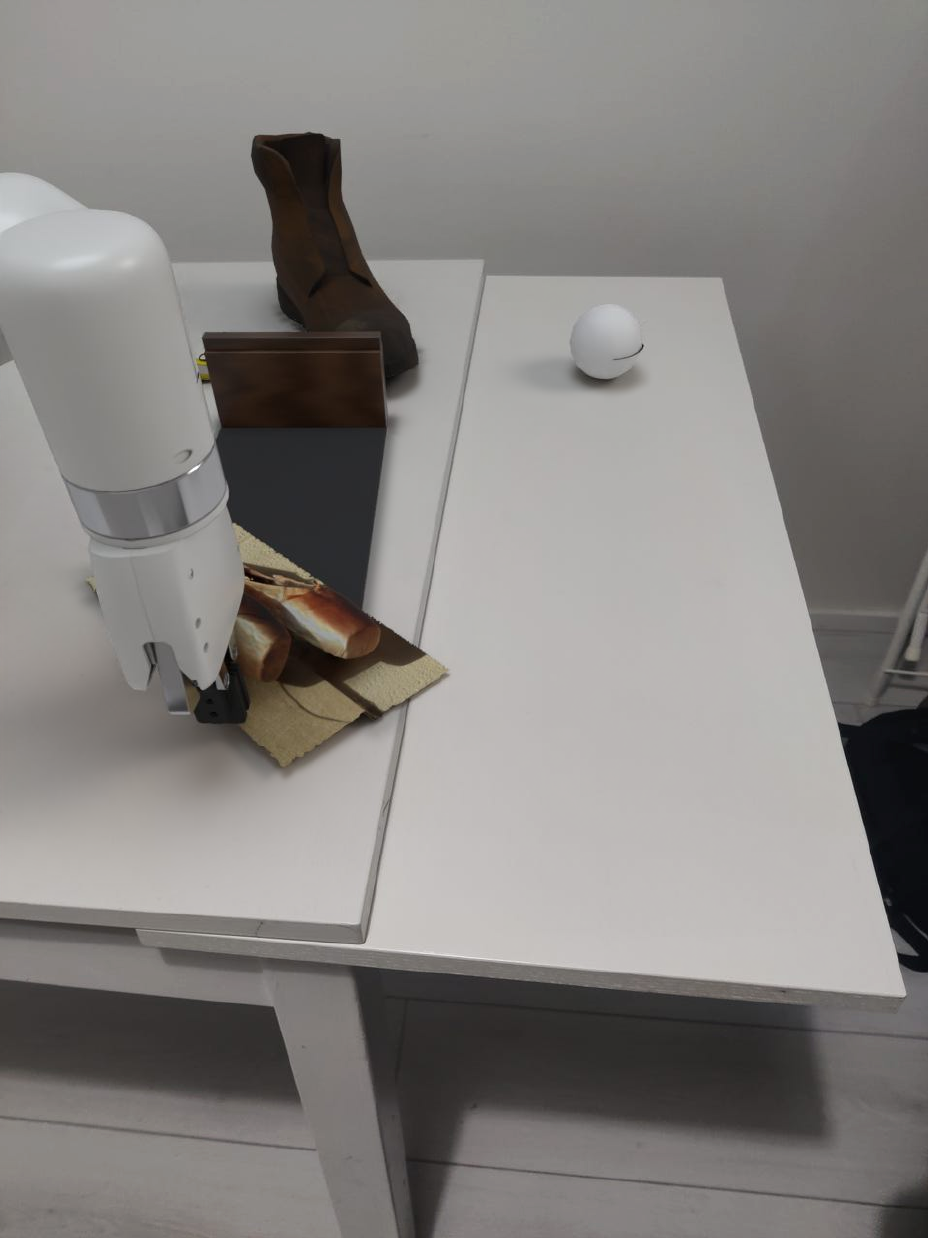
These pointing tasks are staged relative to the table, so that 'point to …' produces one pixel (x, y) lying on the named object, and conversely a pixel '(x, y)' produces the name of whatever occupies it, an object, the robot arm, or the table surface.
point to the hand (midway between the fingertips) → (224, 713)
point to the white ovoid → (606, 341)
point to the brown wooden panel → (297, 379)
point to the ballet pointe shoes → (313, 656)
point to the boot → (323, 246)
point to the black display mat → (308, 496)
